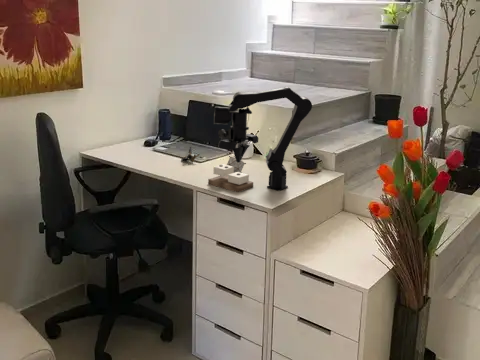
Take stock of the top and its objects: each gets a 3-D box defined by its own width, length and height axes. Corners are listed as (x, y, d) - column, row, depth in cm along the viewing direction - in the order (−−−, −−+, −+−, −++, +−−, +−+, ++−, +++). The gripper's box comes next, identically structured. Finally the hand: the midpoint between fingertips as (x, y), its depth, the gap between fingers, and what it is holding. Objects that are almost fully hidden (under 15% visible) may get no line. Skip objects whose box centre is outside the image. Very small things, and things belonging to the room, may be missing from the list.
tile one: (248, 181, 237) (248, 173, 236) (239, 184, 232) (239, 176, 231) (237, 178, 240) (237, 171, 239) (227, 181, 236) (228, 174, 235)
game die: (238, 182, 256) (243, 168, 249) (220, 174, 257) (225, 160, 249) (245, 168, 262) (250, 154, 254) (228, 160, 262) (232, 146, 255)
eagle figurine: (203, 159, 273) (194, 152, 279) (197, 149, 268) (188, 141, 275) (190, 169, 271) (181, 161, 278) (184, 158, 267) (175, 151, 273)
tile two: (233, 173, 241) (233, 166, 240) (224, 176, 237) (224, 168, 236) (222, 170, 245) (223, 163, 244) (213, 173, 240) (213, 166, 239)
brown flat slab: (253, 186, 238) (253, 182, 238) (237, 192, 231) (238, 187, 230) (224, 178, 248) (224, 174, 247) (208, 183, 241) (208, 179, 240)
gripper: (238, 118, 241) (237, 154, 246) (208, 124, 227) (208, 162, 232) (259, 122, 234) (258, 159, 239) (230, 128, 221) (229, 168, 225)
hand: (238, 162), depth 234 cm, fingers closed
